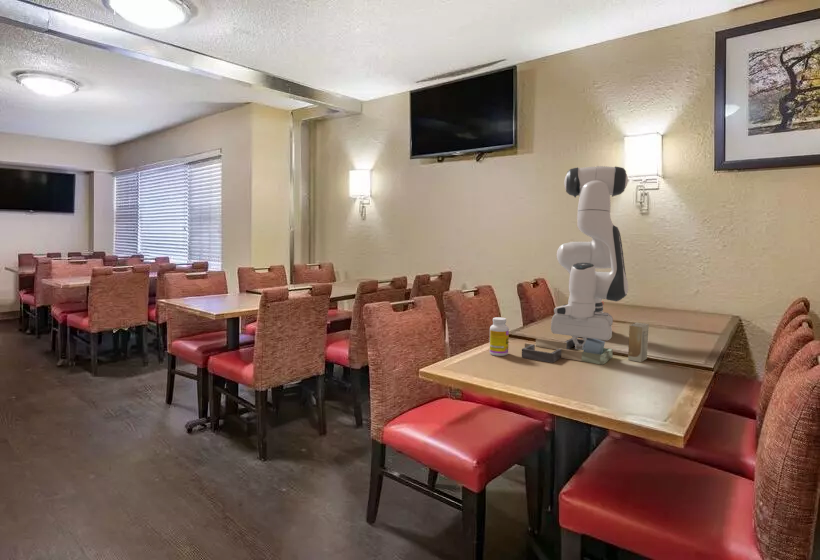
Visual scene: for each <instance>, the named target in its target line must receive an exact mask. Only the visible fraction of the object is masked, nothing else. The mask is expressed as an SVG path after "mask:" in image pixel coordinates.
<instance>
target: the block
mask: <svg viewBox="0 0 820 560" xmlns="http://www.w3.org/2000/svg"><path fill="white" fill-rule="evenodd" d="M605 344H606V341H605V340H599V339H592V338H589V339H587V340H586V342H585V347H584V350H582V352H587V353H594V354H600V355H601V354H602V353H603V349H604V348H605Z"/></svg>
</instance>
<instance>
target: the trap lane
mask: <svg viewBox="0 0 820 560" xmlns="http://www.w3.org/2000/svg"><path fill="white" fill-rule="evenodd" d="M577 341H578V343H579V344H583V342H584V340H583V338H582V339H581V338H577ZM573 346H575V343H574V342H573V340H572V337H570V338H569V339H567V340H565V341H559V340H552V339H547V338H546V339H545V338H538V337H537V338H535V343H534V344H533V343H527V342H525V343H524V347H523V348H522V349H521V358H522V359H523V358H524V359H528V360H534V361H539V362H540V361H541V362H546V363H550V364H551V363H552V364H554V363H555V362H556V361H559V360H560V359H567V360H571V361H572V360H573V361H578V362H585V363H590V364H597V365H602V366H603V365H604V364H606V363H607V362H608V361H610V360H611V359H613V352H614V351H613V348H607V347H604V349H603V353H602V354H601V355H600V354H594V353H587V352H583V351H582V350H581V351H580V350H575V349H574V350H573V349H571V348H574V347H573ZM536 347H538V348H543V349H549V350H553V351H552V352H547V351H543V350H542V351H541V350H536Z"/></svg>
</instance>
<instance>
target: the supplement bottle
mask: <svg viewBox="0 0 820 560" xmlns="http://www.w3.org/2000/svg"><path fill="white" fill-rule="evenodd" d="M506 324H507V318H505V317H500V316H498V317H497V316H496V317H493V318H492V324H491V325H490V327H489V348H488V349H489V354H490V355H492V356H495V357H496V356H497V357H500V356H501V357H504V356H507V355H508V354H509V338H510V337H509V333H510V329H509V326H507V325H506Z"/></svg>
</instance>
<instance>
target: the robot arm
mask: <svg viewBox="0 0 820 560" xmlns="http://www.w3.org/2000/svg"><path fill="white" fill-rule="evenodd" d="M563 181H564V182H563V186H564V189H565V192H566V194H568V195H569V196H572V197H574V198H577V196H579V197H578V198H579V199H578V204H577V212H576V213H577V214H576V220H577V221H576V226H577V228H578V230H579V231H580V232H581V233H583V235H585V236H587V237H590V238H591V241H569V242H565V243H562V244H561V245H559V247H558V248H557V251H556V260H557V262H558V264H559V265H560V266H561V267H562V268H564V269H565V270H566V271H567V272H568V273H569V280H568V291H569V297H568V300H567V303H568V304H566V303H565V304H563V305H559V306H556V307H554V309H553V312H554V314H553V316H552V318H551V323H550V330H551V333H552V334H554V335H555V334H556V335H562V336H570V337H571V338H572V340H573V342H574V343H575V347H574V350H579V351H580V350H581V351H584V347H585V342H586V340H587V339H589V338H592V339H598V340H601V341H609V340H610V339H611V338H612V337H613V330H612V329H613V328H612V326H613V322H614V319H613V316H612V315H611V314H609V312H604V305H605V302H604V301H603V300H607V301H611V302H619V301H621V300H623V299H624V298H625V297H626V296H628V291H629V283H628V277H627V274H626V266H625V261H624V260H625V259H624V249H623V243H622V238H621V236H622V235H621V233H620V229H619V227H618V226H615V225H614V224H613V221H612V218H611V197H612V198H613V197H616V196H620V195H622V193H624V192H625V190H626V187H627V185H628V182H629V178H628V174H627V171H626V169H625V168H624V167H621V166H617V165H615V166H605V165H596V166H585V167H573V168H570V169H568V171H567V172H566V175H565V177H564V180H563ZM596 269H605V270H606V269H611V270H610V271H596ZM579 338H582V340H584V342H583V344H579V343H578V341H577V339H579Z"/></svg>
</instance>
